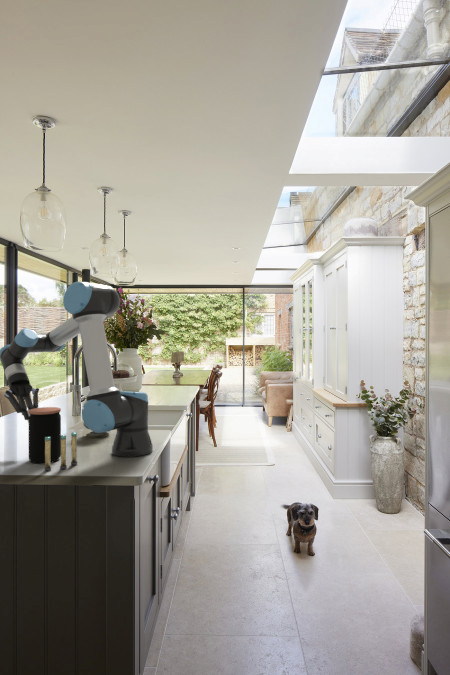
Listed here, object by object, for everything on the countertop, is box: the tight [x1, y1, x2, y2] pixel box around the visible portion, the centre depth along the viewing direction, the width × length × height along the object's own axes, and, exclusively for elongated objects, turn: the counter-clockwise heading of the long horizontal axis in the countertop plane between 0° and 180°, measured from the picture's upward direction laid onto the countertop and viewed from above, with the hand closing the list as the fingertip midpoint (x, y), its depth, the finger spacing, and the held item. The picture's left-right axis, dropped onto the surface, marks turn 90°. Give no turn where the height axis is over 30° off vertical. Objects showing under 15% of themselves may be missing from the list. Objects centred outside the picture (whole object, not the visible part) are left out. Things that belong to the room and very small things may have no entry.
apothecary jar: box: [83, 399, 110, 439], centre depth 194 cm, size 12×12×18 cm
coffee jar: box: [28, 406, 62, 465], centre depth 155 cm, size 11×11×18 cm
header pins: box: [44, 431, 78, 472], centre depth 145 cm, size 4×11×11 cm, turn 135°
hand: (33, 425), depth 162 cm, fingers closed
